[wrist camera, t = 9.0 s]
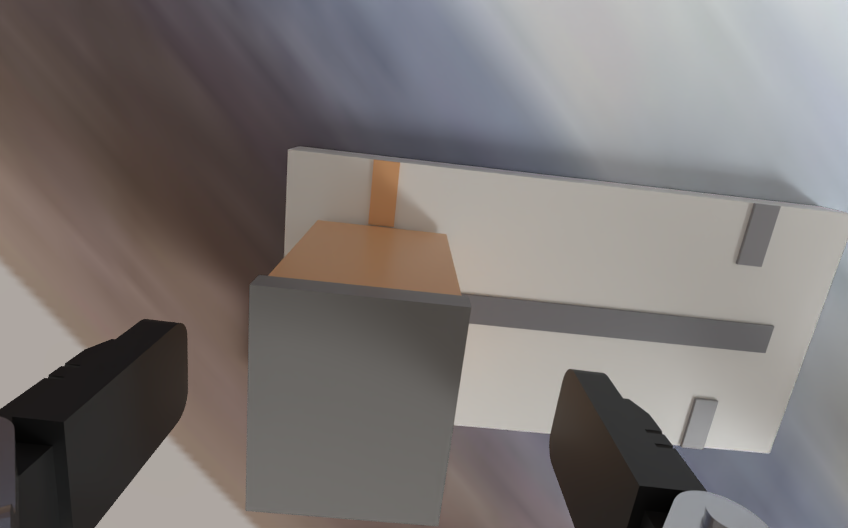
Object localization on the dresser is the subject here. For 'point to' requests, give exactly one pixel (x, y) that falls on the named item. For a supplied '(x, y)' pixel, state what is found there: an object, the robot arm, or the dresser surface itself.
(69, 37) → the dresser surface
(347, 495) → the fader knob
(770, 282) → the fader plate
